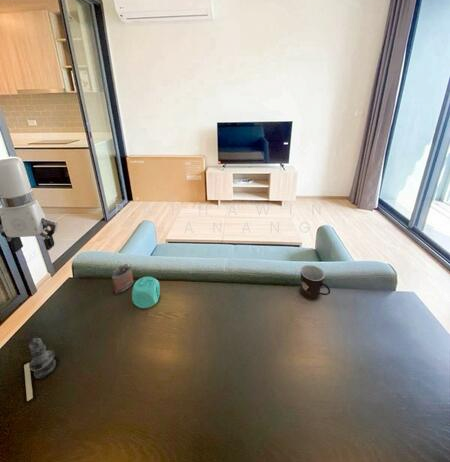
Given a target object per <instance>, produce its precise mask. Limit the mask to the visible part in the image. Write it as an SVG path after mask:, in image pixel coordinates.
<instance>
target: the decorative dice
mask: <svg viewBox="0 0 450 462" xmlns="http://www.w3.org/2000/svg"><path fill="white" fill-rule="evenodd" d="M131 291H132V292H131V300H132V303H133V304H134V305H135V306H136V307H138V308H140V309H148V308H151V307H153V306H154V305H156V304H157V303H158V301H159V298H160V291H161V285H160V281H159V280H158V279H156V278H155V277H154V276H143V277H140V278H139V279H137V280H136V281H135V282H134V284H133V287H132V290H131Z"/></svg>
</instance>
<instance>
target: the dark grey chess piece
mask: <svg viewBox="0 0 450 462" xmlns="http://www.w3.org/2000/svg"><path fill="white" fill-rule="evenodd" d="M28 348H29V350H30V353H29V355H30V357H31V358H32V359H31V360H30V362H29V368H30V371H32V372H33V375H34V377H35V379H42V378H45V377H47V376H48V375H50V374H52V373H53V371H54V370H55V368H56V366H57V361H56V359H54V358H55V352H54V350H52V349H47V346H46V344H44V343H43V341H42V338H40V337H34V338H32V340H31V341H30V342H29V343H28Z"/></svg>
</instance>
